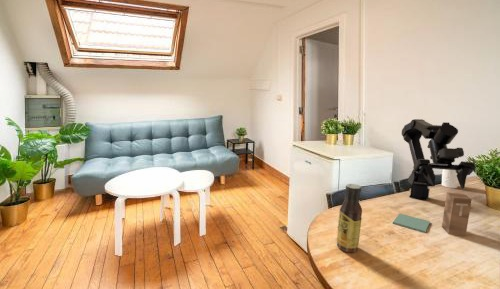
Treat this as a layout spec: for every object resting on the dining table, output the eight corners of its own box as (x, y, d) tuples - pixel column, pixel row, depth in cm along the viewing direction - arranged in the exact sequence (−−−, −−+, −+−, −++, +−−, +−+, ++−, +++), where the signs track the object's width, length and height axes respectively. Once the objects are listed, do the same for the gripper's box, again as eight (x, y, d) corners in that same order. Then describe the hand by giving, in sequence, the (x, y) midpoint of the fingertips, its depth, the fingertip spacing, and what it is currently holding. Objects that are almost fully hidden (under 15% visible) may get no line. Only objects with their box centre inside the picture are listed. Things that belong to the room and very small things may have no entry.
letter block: (441, 226, 93) (446, 192, 91) (458, 228, 92) (463, 193, 90) (448, 234, 88) (454, 197, 86) (465, 236, 87) (472, 199, 85)
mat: (392, 223, 95) (392, 221, 95) (399, 214, 103) (399, 213, 103) (425, 232, 89) (425, 231, 89) (429, 222, 96) (430, 221, 96)
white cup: (456, 185, 139) (459, 166, 138) (460, 189, 132) (463, 170, 131) (438, 182, 143) (441, 165, 141) (442, 187, 136) (444, 168, 134)
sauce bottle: (333, 242, 82) (337, 181, 79) (352, 241, 83) (357, 181, 79) (342, 254, 76) (347, 189, 72) (362, 253, 76) (368, 188, 73)
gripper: (419, 138, 100) (427, 174, 91) (477, 140, 95) (491, 178, 86) (410, 154, 109) (416, 188, 100) (463, 157, 104) (474, 193, 95)
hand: (448, 187), depth 95 cm, fingers open, 9 cm apart
